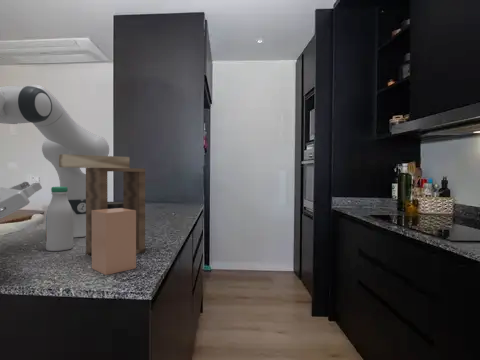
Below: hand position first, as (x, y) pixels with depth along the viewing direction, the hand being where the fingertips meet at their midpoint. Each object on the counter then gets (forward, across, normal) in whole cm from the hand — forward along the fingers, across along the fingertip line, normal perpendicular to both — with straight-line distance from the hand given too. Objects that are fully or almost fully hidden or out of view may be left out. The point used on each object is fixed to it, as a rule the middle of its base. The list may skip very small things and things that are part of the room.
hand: (33, 184), depth 86 cm
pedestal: (+1, -15, +26) cm, 30 cm away
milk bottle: (0, +18, +25) cm, 31 cm away
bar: (+16, 0, +4) cm, 17 cm away
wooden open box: (+8, 0, +30) cm, 31 cm away
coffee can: (+13, +16, +33) cm, 39 cm away
